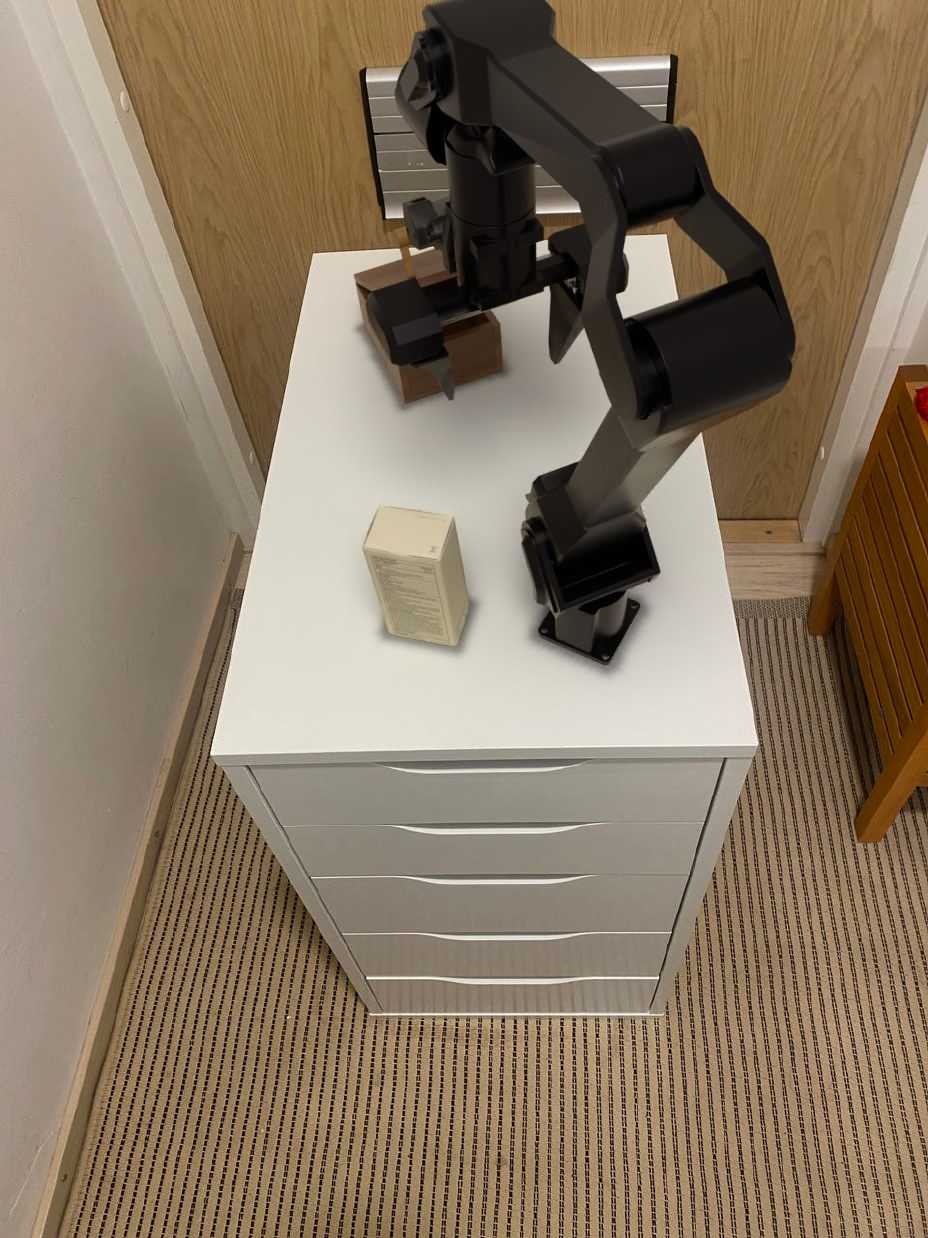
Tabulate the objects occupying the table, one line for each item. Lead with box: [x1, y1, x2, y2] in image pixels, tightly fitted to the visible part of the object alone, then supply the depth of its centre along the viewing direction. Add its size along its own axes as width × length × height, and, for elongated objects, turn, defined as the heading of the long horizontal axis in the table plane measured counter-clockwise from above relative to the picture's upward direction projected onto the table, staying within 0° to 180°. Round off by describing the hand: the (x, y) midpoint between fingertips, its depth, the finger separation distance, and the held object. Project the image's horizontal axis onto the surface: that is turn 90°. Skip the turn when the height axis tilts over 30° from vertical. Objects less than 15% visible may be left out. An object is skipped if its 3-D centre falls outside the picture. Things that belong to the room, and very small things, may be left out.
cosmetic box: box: [361, 504, 470, 647], centre depth 74 cm, size 6×4×12 cm
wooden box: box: [355, 276, 504, 404], centre depth 95 cm, size 13×11×6 cm
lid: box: [353, 226, 457, 291], centre depth 89 cm, size 13×11×5 cm
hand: (502, 378), depth 76 cm, fingers open, 9 cm apart
